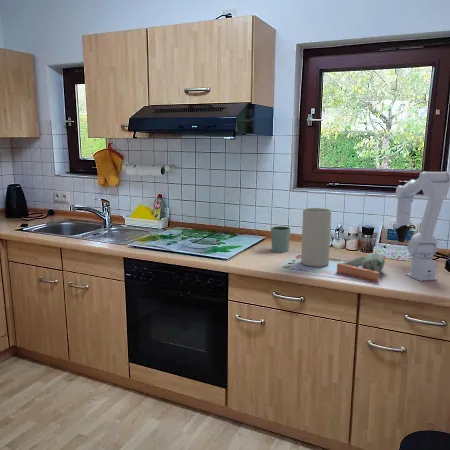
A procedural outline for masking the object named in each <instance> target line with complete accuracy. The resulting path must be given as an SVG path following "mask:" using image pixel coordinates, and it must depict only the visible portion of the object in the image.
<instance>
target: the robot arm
mask: <svg viewBox="0 0 450 450" xmlns="http://www.w3.org/2000/svg"><path fill="white" fill-rule="evenodd" d="M449 190H450V173H449V172H448V171H421V172H420V173H419V176H418V178H417V179H409V181H408V182H407V183H405V184H404V185H397V187H396V190H395V195H396V199H397V207H396V216H395V217H396V219H395V220H393V224H392V225H393V226H392V228H393V229H394V230H395V232H396V235H397V240H398V242H399V243H404V242H405V241H406V237H407V235H408V232H409V231H410V230H411V225H412V223H413V220H411V212H412V211H411V210H412V203H413V202H414V197H415V195H416V194H417V193H419V192H420V191H422V194H423V195H424V196H426V197H427V199H428V200H427V202H426V207H425V210H424V213H423V217H422V220H421V223H420V228H419V231H418V232H417V233H415V234H413V235H412V236H411V237H410V240H409V241H408V243H407V252H408V254H410V255H411V259H410V261H411V263H410V272H405V275H406V276H409V277H410V278H413V279H415V280H417V281H419V282H421V281H422V282H423V281H434V280H437V277H436V273H437V271H436V270H437V262H436V261H435V260H433V257H434V255H436V253H437V251H438V239H437V237H436V236H434V232H435V229H436V226H437V223H438V219H439V217H440V216H439V215H440V214H441V213H440V212H441V210H442V206H443V203H444V200H445V196H447V195H448V192H449Z"/></svg>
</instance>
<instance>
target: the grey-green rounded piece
mask: <svg viewBox="0 0 450 450" xmlns="http://www.w3.org/2000/svg"><path fill="white" fill-rule="evenodd" d="M364 257H365V258H364V260H363V262H362V264H361V268H364V269H368V270H372V271H377V272H379V275H380V274H381V273H382V271H383V268H384V266H385V261H386V260H385V258H384V257H383V255H381V254H379V253H376V252H371V253H368V254H367V255H365V256H364Z"/></svg>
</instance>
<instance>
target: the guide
mask: <svg viewBox="0 0 450 450" xmlns="http://www.w3.org/2000/svg"><path fill="white" fill-rule="evenodd" d="M365 257H366V256H360V257H357V258H353V259H350V260H348V261H344V262H342V263H341V262H339V263H337V265H336V273H337V274H340V275H344V276H348V277H353V278H356V279H361V280H364V281H368V282H372V283H375V284H376V283H379V281H380V274H379V272H377V271H372V270H368V269H364V268H362V267H359V266H362V262H363V260H364V258H365Z"/></svg>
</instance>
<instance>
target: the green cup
mask: <svg viewBox="0 0 450 450" xmlns="http://www.w3.org/2000/svg"><path fill="white" fill-rule="evenodd" d="M270 233H271V234H270V235H271V237H270V238H271V239H270V240H271V251H272V250H273V251H272V252H274V251H277V252H276V253H280V252H283V253H287V251H288V252H289V250H290V249H289V248H290V241H291V240H290V239H291V238H290V237H291V227H289V226H285V225H284V226H283V225H282V226H277V225H276V226H271V227H270Z"/></svg>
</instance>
